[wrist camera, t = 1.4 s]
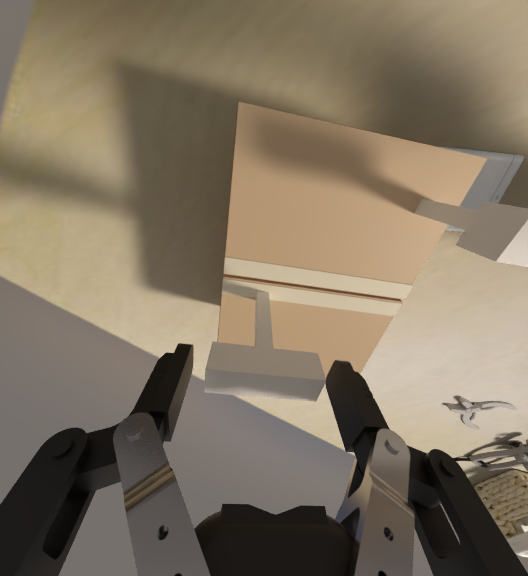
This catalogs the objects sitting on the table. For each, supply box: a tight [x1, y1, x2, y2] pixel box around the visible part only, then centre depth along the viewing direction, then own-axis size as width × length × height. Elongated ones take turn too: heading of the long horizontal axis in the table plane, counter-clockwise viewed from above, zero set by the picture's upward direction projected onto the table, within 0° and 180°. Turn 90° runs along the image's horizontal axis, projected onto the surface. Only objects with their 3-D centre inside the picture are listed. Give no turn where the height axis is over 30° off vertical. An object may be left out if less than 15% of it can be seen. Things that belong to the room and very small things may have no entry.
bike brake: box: [454, 439, 528, 471], centre depth 56 cm, size 14×7×20 cm
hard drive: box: [435, 146, 524, 232], centre depth 24 cm, size 2×8×12 cm
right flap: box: [204, 274, 402, 402], centre depth 17 cm, size 16×11×9 cm
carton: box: [217, 102, 528, 342], centre depth 19 cm, size 16×22×19 cm
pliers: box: [447, 396, 517, 429], centre depth 47 cm, size 10×2×15 cm
